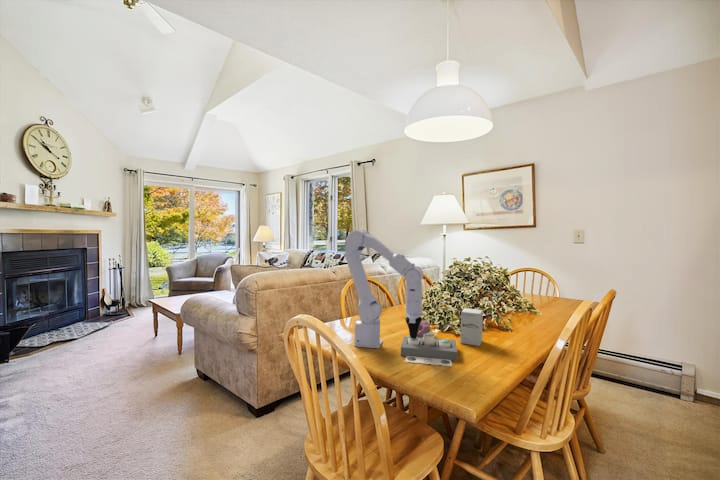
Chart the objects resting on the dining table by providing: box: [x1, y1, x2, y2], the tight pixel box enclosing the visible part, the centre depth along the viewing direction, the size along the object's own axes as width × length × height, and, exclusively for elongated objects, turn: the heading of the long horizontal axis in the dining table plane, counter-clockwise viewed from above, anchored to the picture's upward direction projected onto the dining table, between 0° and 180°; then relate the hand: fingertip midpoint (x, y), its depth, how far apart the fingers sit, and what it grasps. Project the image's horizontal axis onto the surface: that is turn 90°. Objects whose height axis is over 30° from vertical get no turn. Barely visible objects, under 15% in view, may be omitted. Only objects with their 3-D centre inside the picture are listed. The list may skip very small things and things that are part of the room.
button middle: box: [423, 332, 436, 346], centre depth 118 cm, size 4×4×4 cm
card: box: [404, 356, 453, 368], centre depth 110 cm, size 15×5×1 cm, turn 77°
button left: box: [408, 338, 419, 345], centre depth 120 cm, size 4×4×4 cm
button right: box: [439, 338, 451, 348], centre depth 117 cm, size 4×4×4 cm
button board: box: [400, 336, 458, 362], centre depth 119 cm, size 19×12×3 cm, turn 77°
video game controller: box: [417, 320, 432, 338], centre depth 138 cm, size 10×5×7 cm, turn 179°
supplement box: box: [459, 307, 484, 347], centre depth 129 cm, size 7×7×13 cm
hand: (413, 337), depth 120 cm, fingers closed
